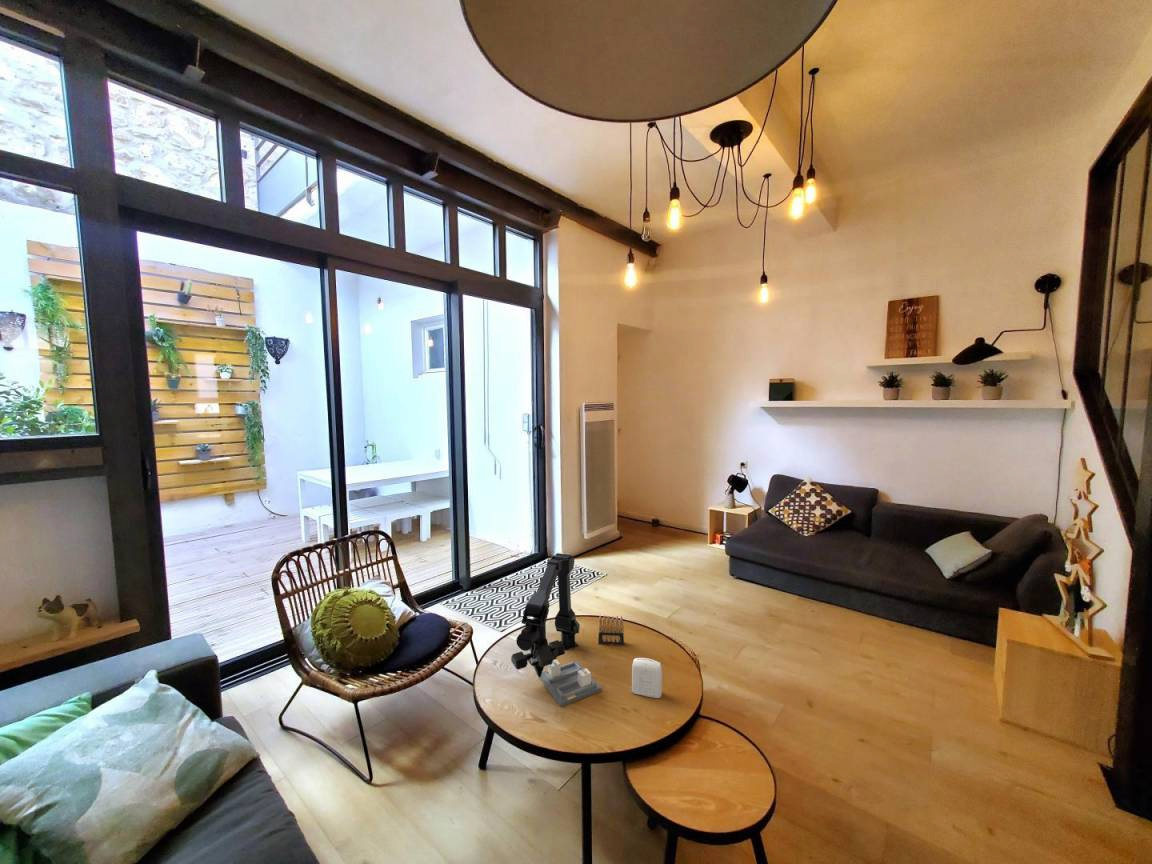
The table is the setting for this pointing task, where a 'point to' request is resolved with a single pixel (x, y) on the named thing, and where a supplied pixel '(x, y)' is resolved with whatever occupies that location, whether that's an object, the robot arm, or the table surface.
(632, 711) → the table surface
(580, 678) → the white block
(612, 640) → the ammunition clip
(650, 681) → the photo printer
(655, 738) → the table surface
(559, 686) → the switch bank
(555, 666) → the white rectangular block
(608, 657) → the table surface
